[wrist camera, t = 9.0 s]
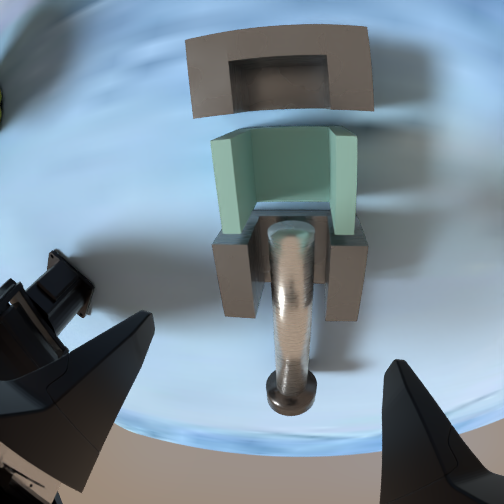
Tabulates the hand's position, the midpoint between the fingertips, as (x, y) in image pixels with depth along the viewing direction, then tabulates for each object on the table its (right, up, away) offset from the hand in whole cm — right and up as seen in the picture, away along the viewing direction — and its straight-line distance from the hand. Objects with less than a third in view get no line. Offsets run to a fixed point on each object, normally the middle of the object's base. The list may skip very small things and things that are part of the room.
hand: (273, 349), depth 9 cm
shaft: (+3, -2, +12) cm, 12 cm away
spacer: (+2, +9, +7) cm, 12 cm away
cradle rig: (+2, +8, +7) cm, 11 cm away
